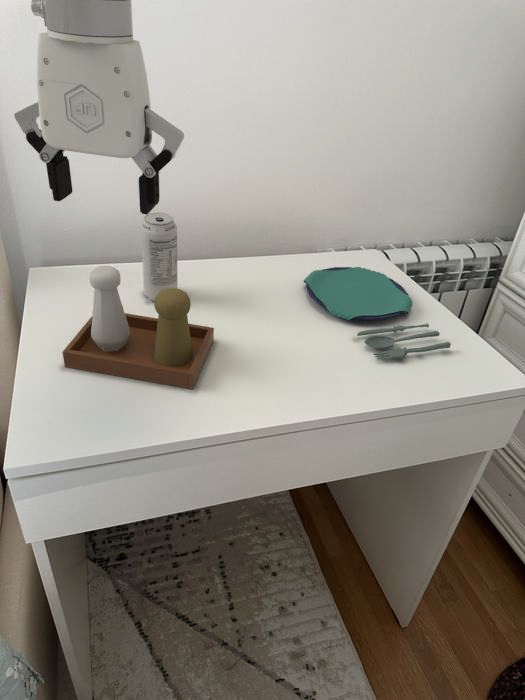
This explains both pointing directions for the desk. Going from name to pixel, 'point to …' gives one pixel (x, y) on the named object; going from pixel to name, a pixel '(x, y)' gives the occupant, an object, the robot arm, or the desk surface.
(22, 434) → the desk surface
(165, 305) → the pepper shaker
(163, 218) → the energy drink can
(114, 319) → the salt shaker
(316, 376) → the desk surface
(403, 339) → the cutlery set
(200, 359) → the tray
